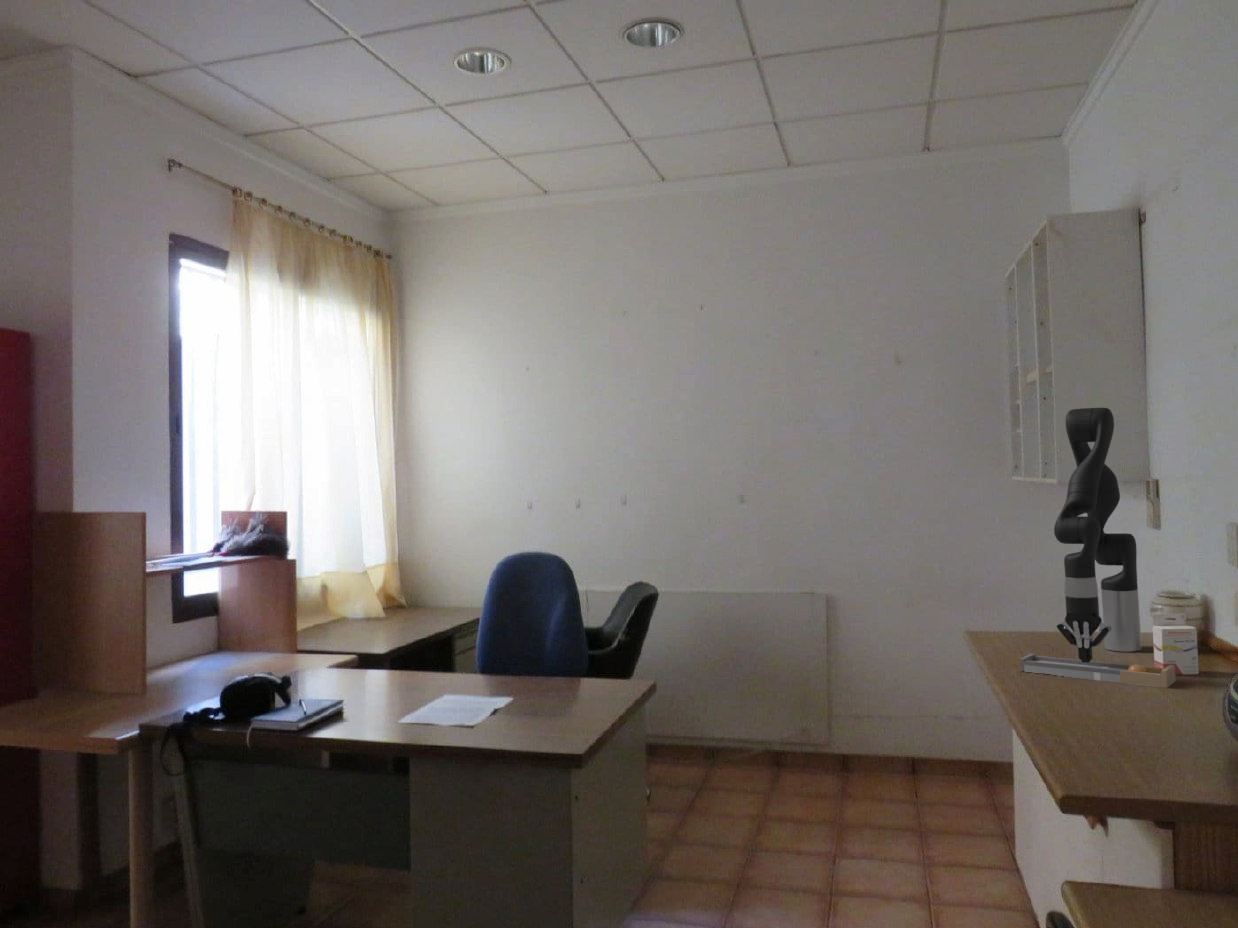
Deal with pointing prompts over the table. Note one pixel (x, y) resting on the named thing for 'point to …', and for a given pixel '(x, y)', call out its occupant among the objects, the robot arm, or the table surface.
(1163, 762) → the table surface
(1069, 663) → the lane
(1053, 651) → the table surface
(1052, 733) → the table surface
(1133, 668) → the ball
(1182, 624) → the ink cartridge box
